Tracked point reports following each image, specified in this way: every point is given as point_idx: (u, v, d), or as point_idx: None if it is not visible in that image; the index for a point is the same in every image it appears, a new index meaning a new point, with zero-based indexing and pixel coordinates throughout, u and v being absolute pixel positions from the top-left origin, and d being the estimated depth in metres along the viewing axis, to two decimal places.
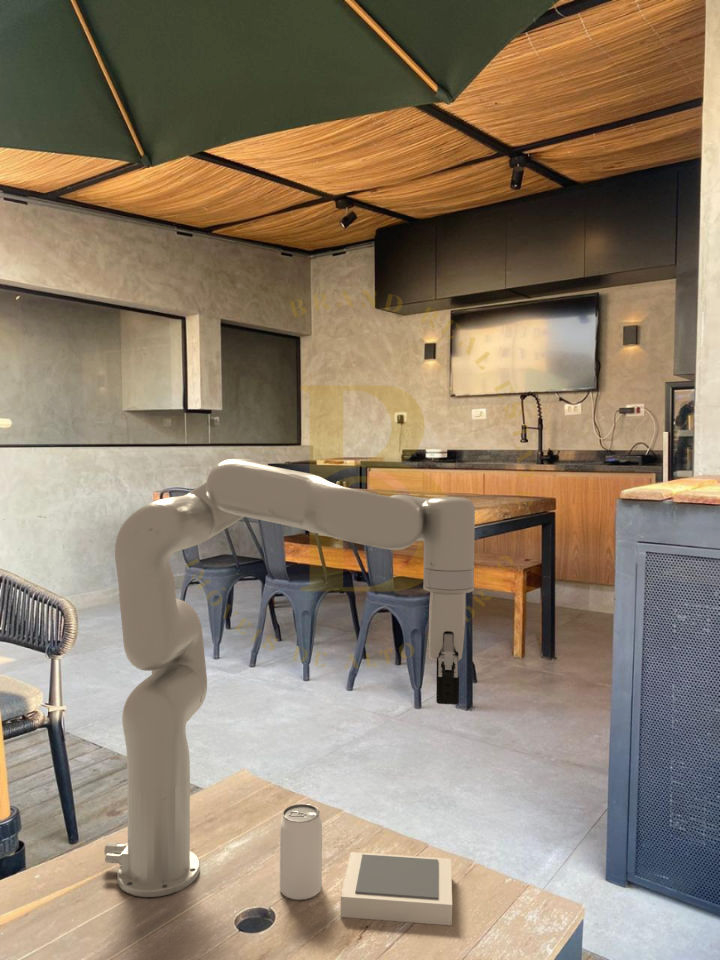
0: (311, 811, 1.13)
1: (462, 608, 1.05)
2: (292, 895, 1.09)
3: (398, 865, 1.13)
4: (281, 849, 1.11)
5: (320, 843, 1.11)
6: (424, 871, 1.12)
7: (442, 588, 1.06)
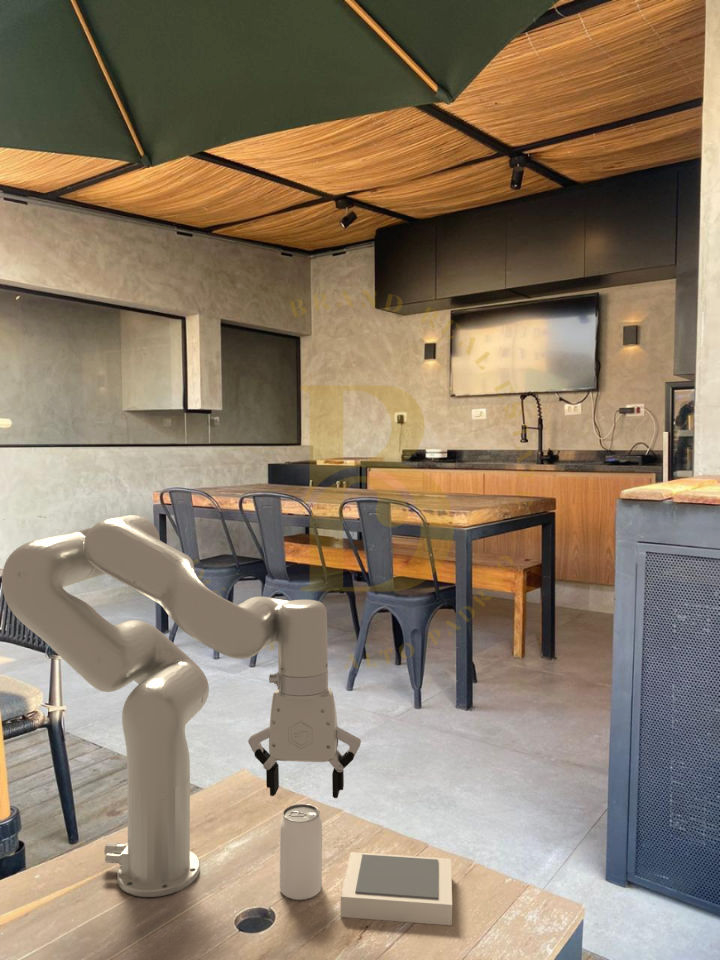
0: (311, 811, 1.13)
1: None
2: (292, 895, 1.09)
3: (398, 865, 1.13)
4: (281, 849, 1.11)
5: (320, 843, 1.11)
6: (424, 871, 1.12)
7: (325, 689, 1.10)
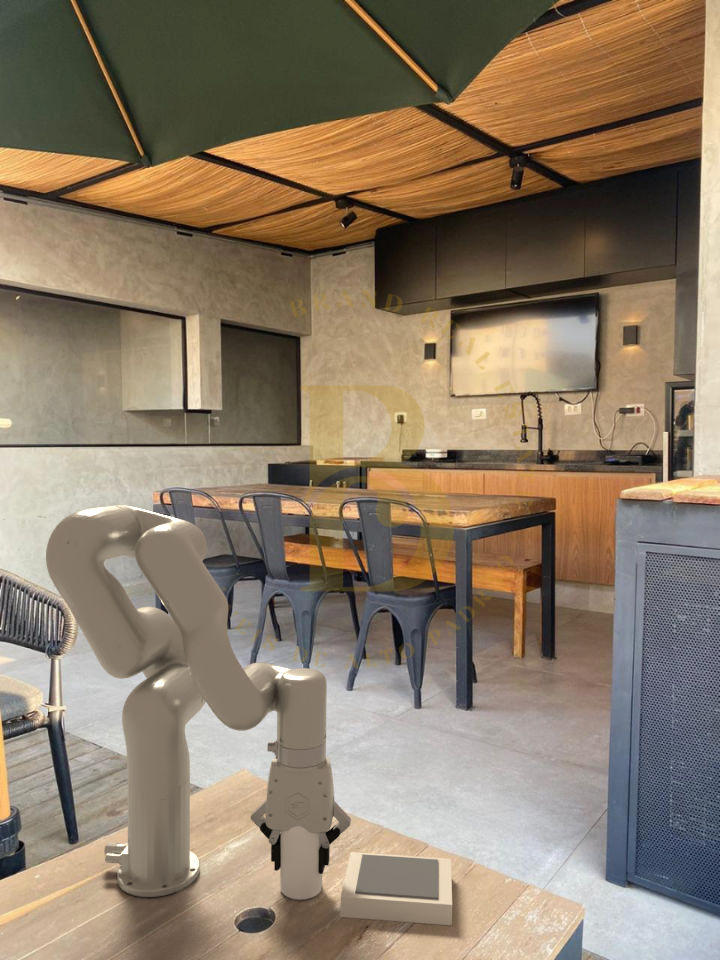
0: None
1: None
2: (293, 895, 1.09)
3: (398, 865, 1.13)
4: (282, 849, 1.11)
5: None
6: (424, 871, 1.12)
7: (323, 760, 1.11)
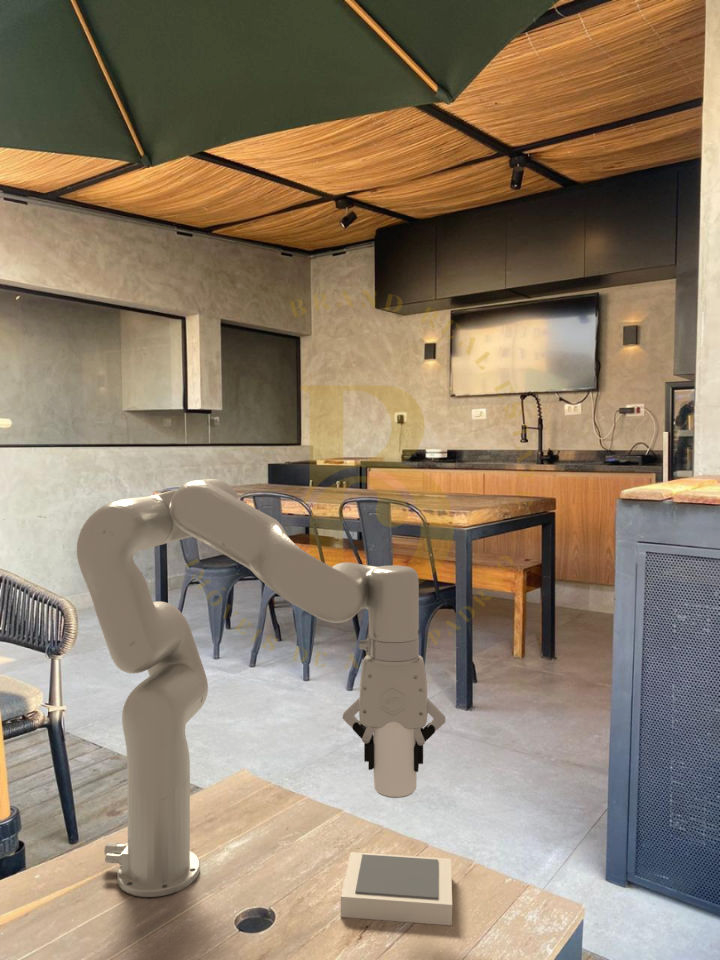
0: None
1: None
2: (389, 792, 1.07)
3: (398, 865, 1.13)
4: (376, 747, 1.09)
5: (415, 740, 1.09)
6: (424, 871, 1.12)
7: (417, 655, 1.09)
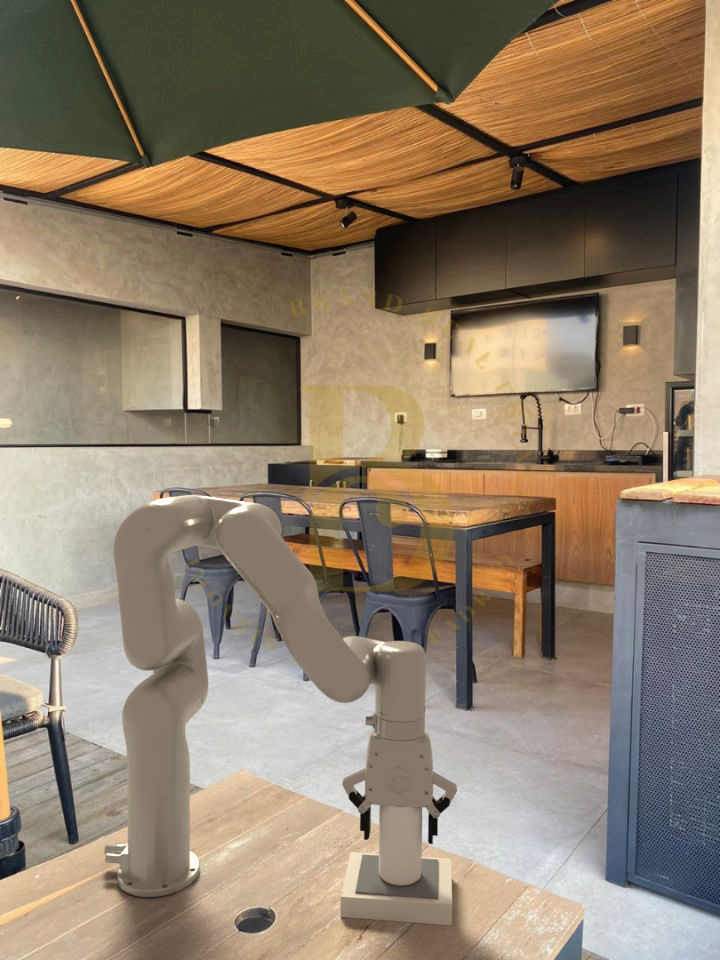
0: None
1: None
2: (394, 880, 1.08)
3: None
4: (381, 834, 1.09)
5: (421, 828, 1.09)
6: (424, 871, 1.12)
7: (423, 733, 1.09)
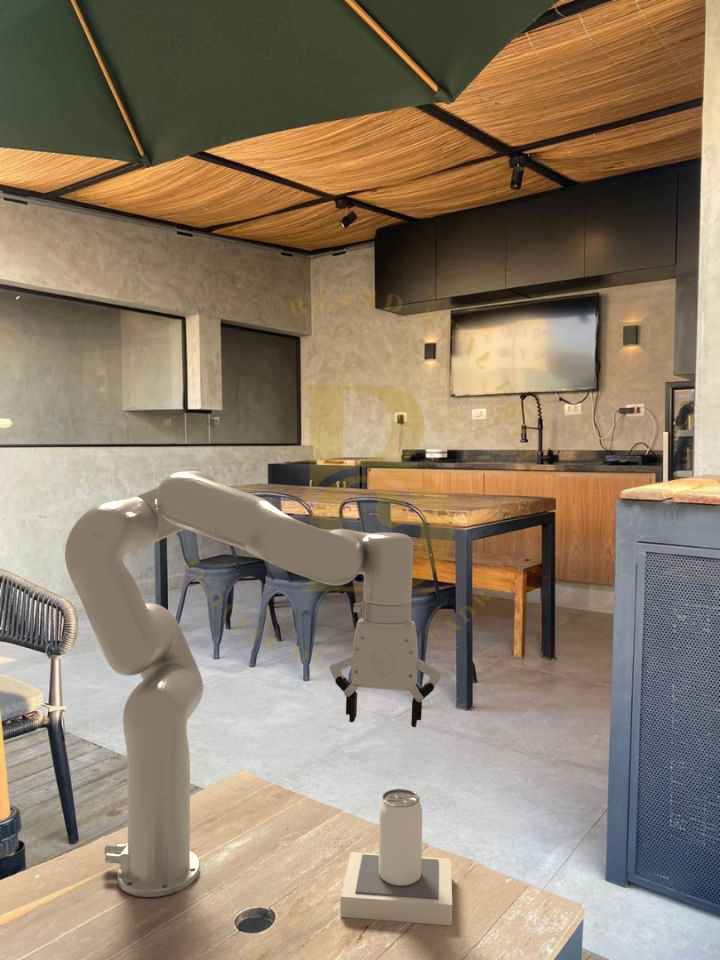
0: (410, 796, 1.11)
1: None
2: (394, 880, 1.08)
3: None
4: (381, 834, 1.09)
5: (421, 828, 1.09)
6: (424, 871, 1.12)
7: (409, 620, 1.12)
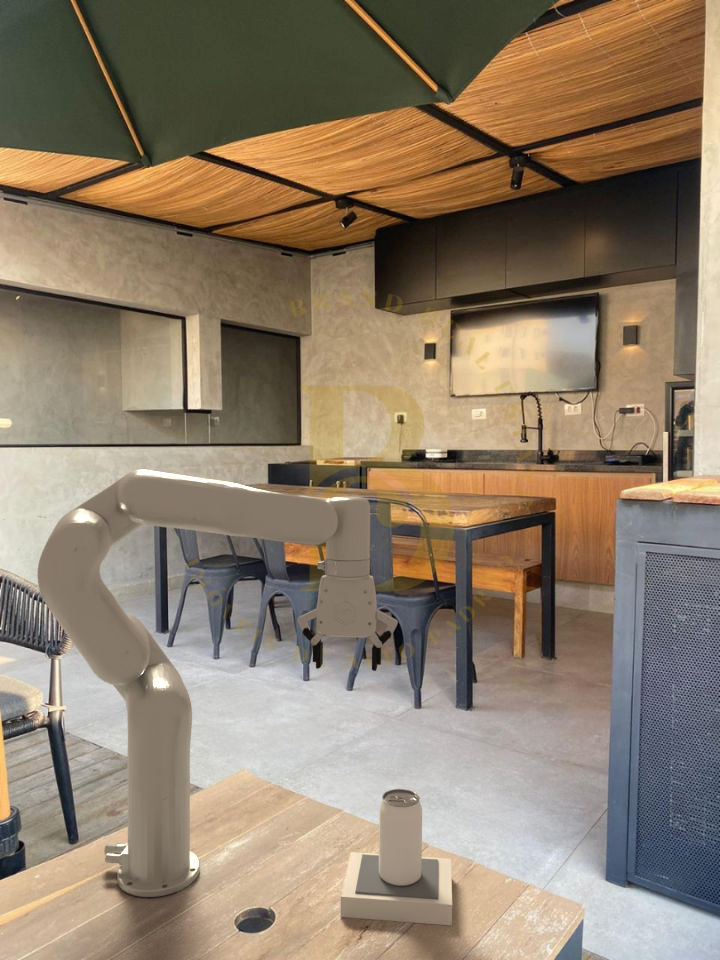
0: (410, 796, 1.11)
1: None
2: (394, 880, 1.08)
3: None
4: (381, 834, 1.09)
5: (421, 828, 1.09)
6: (424, 871, 1.12)
7: (368, 574, 1.24)
